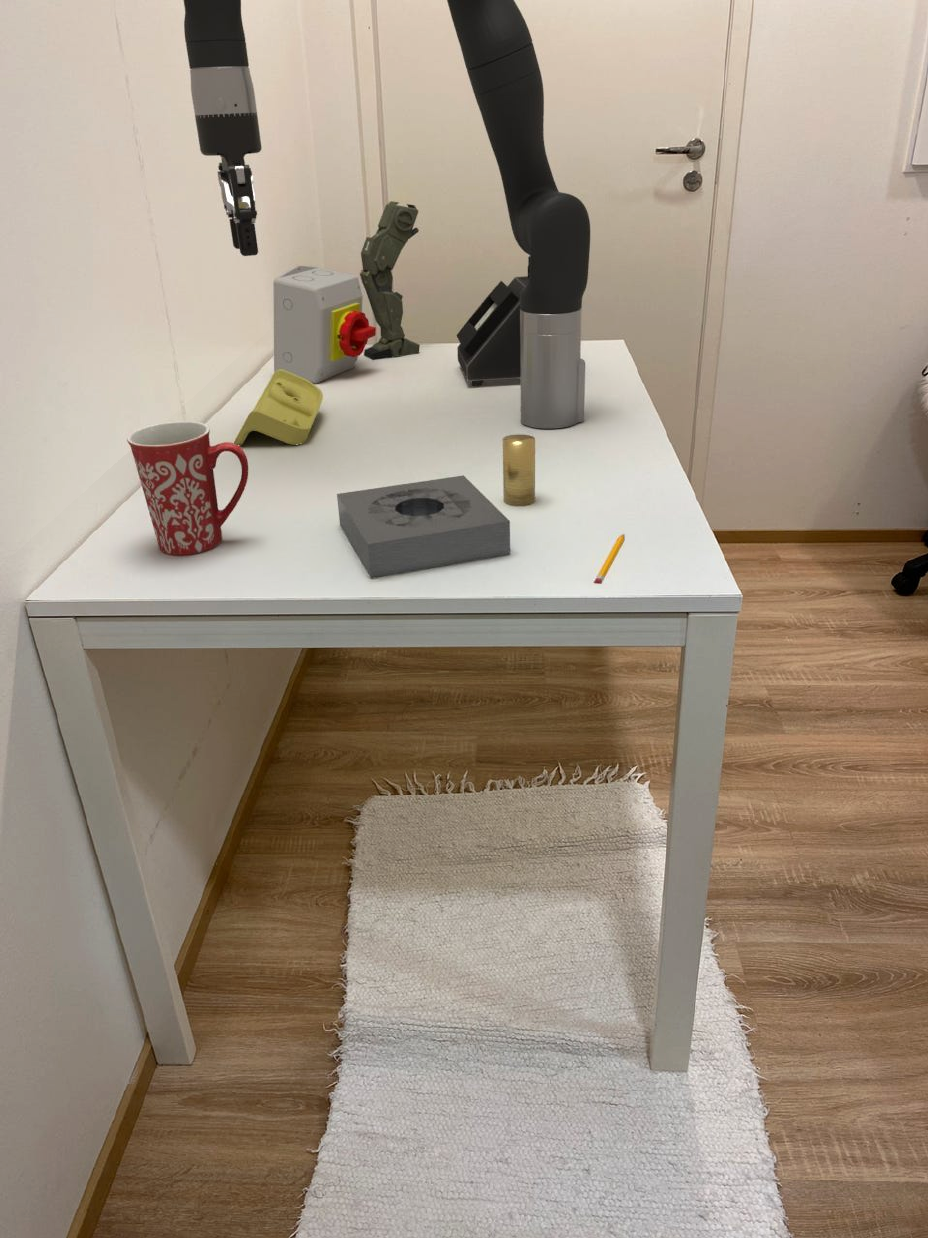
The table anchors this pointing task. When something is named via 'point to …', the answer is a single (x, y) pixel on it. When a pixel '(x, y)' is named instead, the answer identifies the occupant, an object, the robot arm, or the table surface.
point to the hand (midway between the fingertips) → (245, 251)
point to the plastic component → (284, 409)
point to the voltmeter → (493, 335)
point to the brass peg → (519, 470)
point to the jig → (422, 525)
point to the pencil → (609, 560)
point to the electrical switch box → (318, 322)
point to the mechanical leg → (387, 279)
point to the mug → (183, 484)
